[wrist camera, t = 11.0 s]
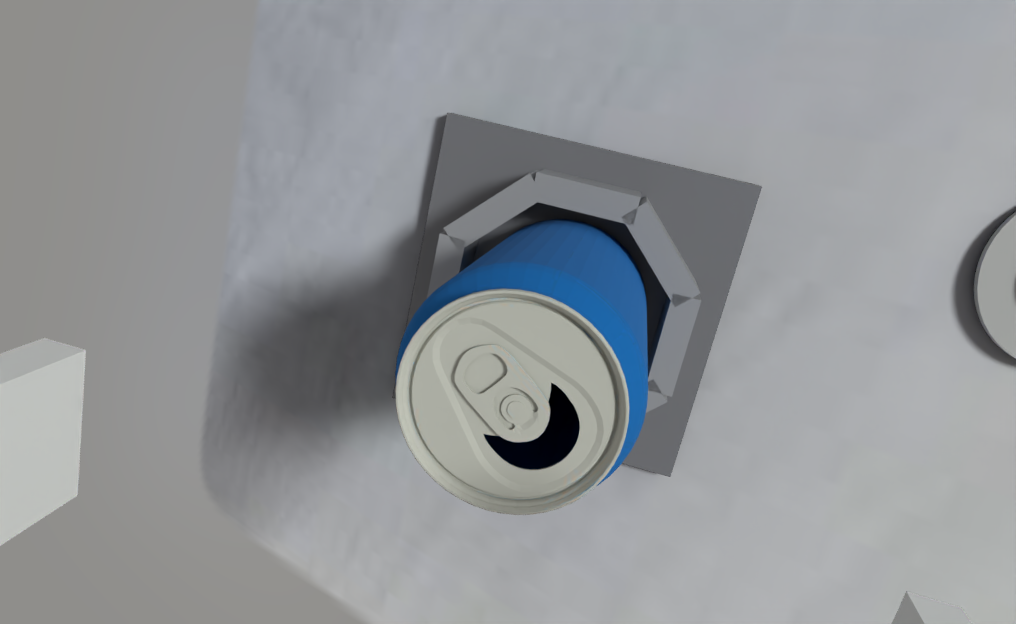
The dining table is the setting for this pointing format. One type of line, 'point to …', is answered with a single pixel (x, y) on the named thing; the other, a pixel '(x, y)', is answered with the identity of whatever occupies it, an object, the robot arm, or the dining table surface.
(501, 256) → the beverage can
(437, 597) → the dining table surface
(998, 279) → the bracket
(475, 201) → the cup holder
